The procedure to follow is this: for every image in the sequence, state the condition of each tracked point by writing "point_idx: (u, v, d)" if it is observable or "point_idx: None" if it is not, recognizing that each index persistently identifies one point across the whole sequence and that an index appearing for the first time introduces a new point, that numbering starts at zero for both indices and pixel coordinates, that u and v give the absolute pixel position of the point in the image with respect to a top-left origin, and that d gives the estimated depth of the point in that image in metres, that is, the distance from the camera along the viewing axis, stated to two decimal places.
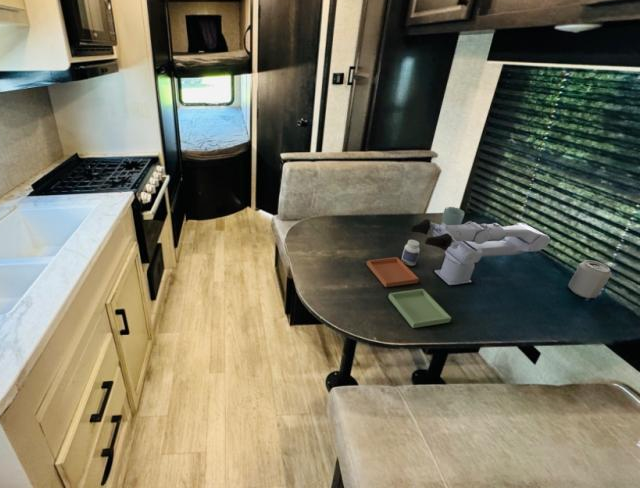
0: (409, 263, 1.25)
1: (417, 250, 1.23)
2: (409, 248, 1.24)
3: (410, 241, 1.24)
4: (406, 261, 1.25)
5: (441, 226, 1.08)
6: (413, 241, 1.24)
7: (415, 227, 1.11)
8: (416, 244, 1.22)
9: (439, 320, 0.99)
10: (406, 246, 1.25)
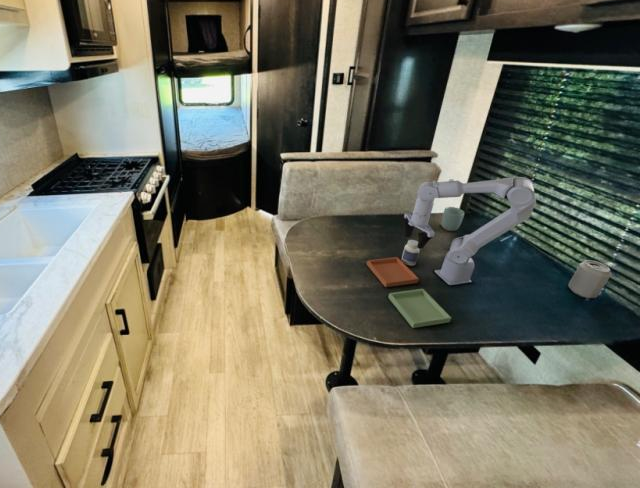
0: (409, 263, 1.25)
1: (417, 250, 1.23)
2: (409, 248, 1.24)
3: (410, 241, 1.24)
4: (406, 261, 1.25)
5: None
6: (413, 241, 1.24)
7: (407, 235, 1.26)
8: (416, 244, 1.22)
9: (439, 320, 0.99)
10: (406, 246, 1.25)
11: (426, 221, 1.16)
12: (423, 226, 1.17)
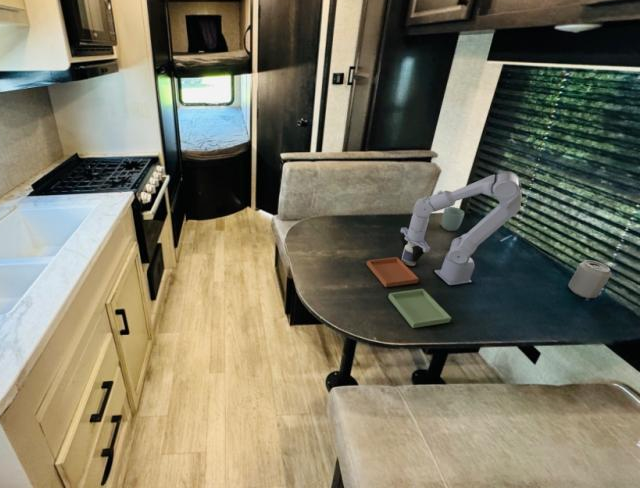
0: (409, 263, 1.25)
1: None
2: (409, 248, 1.24)
3: None
4: (406, 261, 1.25)
5: None
6: None
7: None
8: None
9: (439, 320, 0.99)
10: (406, 246, 1.25)
11: (422, 236, 1.19)
12: (419, 241, 1.20)
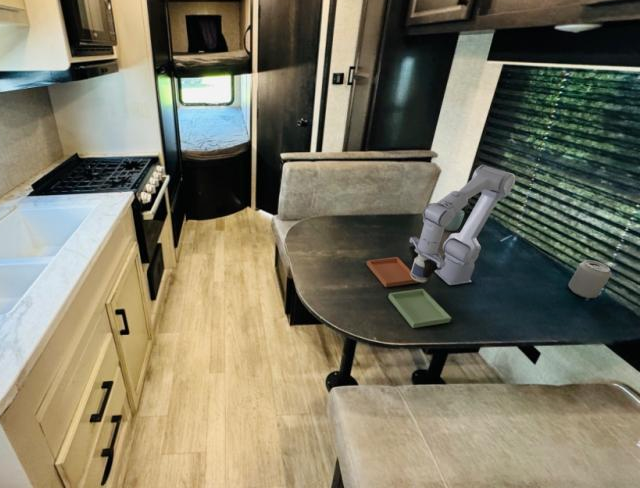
0: (420, 279, 1.07)
1: None
2: (420, 262, 1.05)
3: None
4: (416, 277, 1.07)
5: None
6: None
7: None
8: None
9: (439, 320, 0.99)
10: (416, 259, 1.07)
11: (435, 249, 1.01)
12: (432, 254, 1.01)
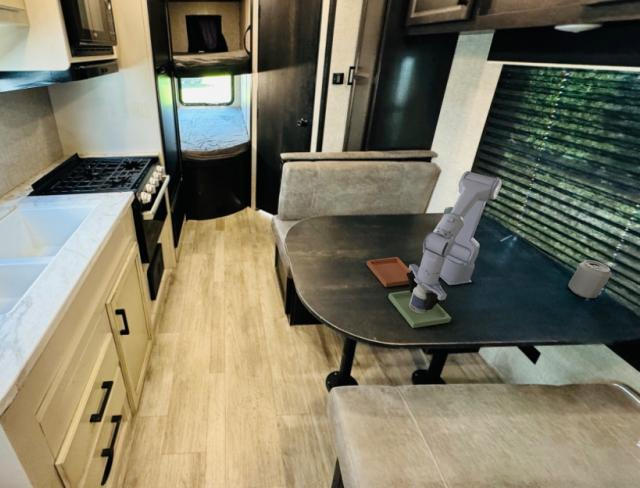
0: (419, 311, 1.02)
1: None
2: (419, 293, 1.01)
3: (420, 284, 1.02)
4: (415, 308, 1.03)
5: None
6: None
7: (412, 290, 1.06)
8: (428, 289, 1.00)
9: (439, 320, 0.99)
10: (415, 290, 1.02)
11: (436, 279, 0.96)
12: (432, 285, 0.97)
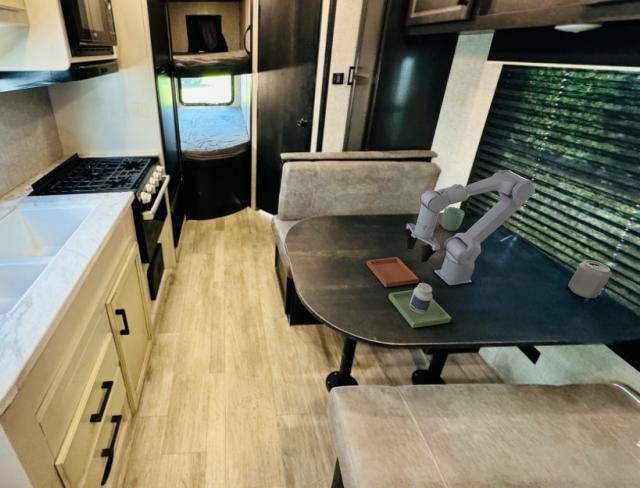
0: (419, 311, 1.02)
1: (429, 297, 1.00)
2: (419, 294, 1.00)
3: (421, 285, 1.01)
4: (415, 308, 1.03)
5: None
6: (424, 285, 1.01)
7: (409, 246, 1.18)
8: (428, 290, 0.99)
9: (439, 320, 0.99)
10: (416, 291, 1.02)
11: (431, 233, 1.08)
12: (427, 238, 1.09)
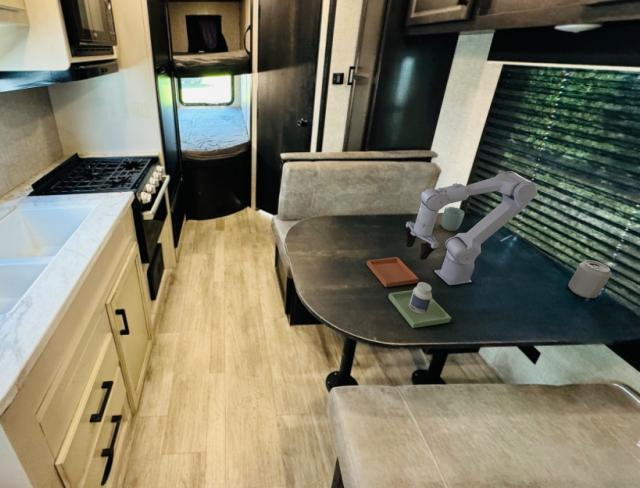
0: (419, 311, 1.02)
1: (429, 296, 1.00)
2: (419, 293, 1.01)
3: (420, 284, 1.02)
4: (415, 308, 1.03)
5: None
6: (424, 284, 1.01)
7: (408, 244, 1.19)
8: (428, 289, 1.00)
9: (439, 320, 0.99)
10: (415, 290, 1.02)
11: (430, 231, 1.09)
12: (426, 236, 1.10)
